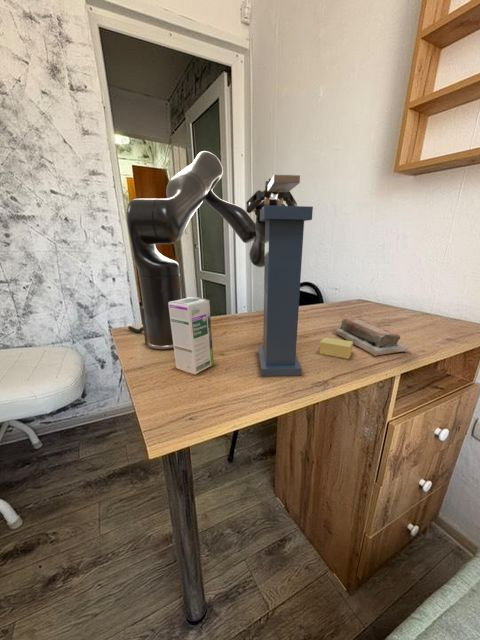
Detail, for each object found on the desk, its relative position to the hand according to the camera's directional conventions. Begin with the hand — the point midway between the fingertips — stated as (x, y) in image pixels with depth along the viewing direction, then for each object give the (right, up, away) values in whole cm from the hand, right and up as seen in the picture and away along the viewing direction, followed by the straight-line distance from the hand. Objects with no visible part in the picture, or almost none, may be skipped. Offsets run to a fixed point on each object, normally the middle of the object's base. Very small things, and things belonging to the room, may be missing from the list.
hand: (275, 182), depth 65 cm
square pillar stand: (0, -40, 0) cm, 40 cm away
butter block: (+15, -38, +6) cm, 41 cm away
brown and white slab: (0, -5, -5) cm, 6 cm away
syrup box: (-17, -41, -2) cm, 45 cm away
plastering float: (+25, -35, +13) cm, 45 cm away
